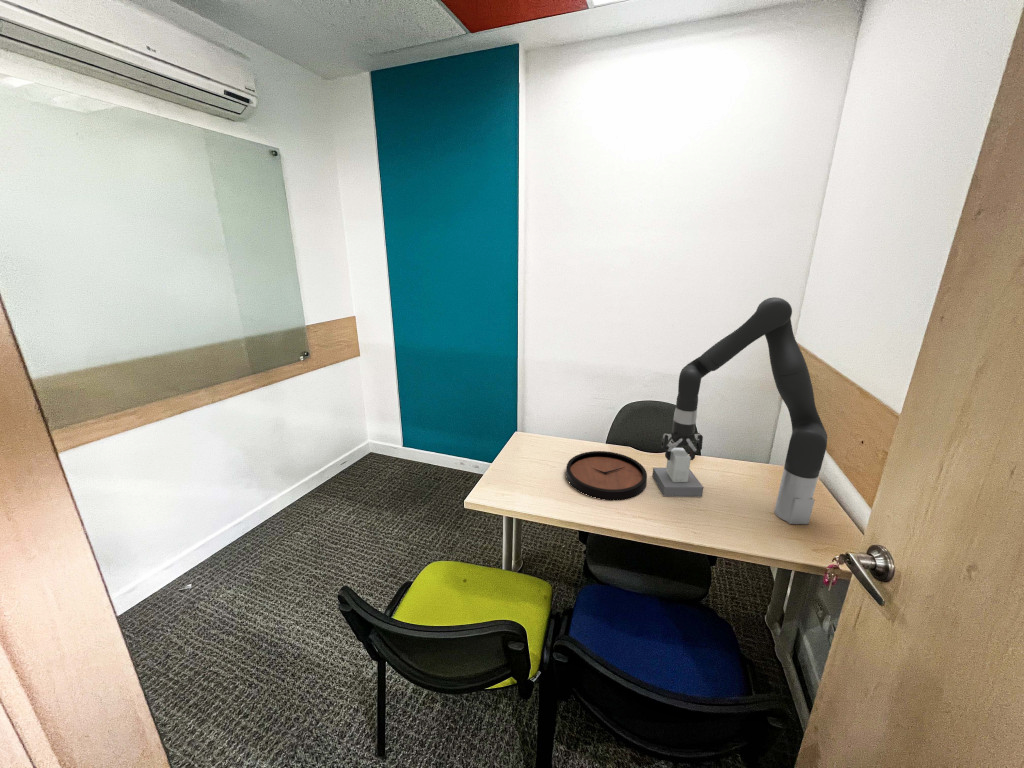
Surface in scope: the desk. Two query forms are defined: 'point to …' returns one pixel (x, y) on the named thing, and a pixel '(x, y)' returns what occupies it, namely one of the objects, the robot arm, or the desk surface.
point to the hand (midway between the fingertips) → (679, 459)
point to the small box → (678, 465)
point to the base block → (677, 484)
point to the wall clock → (606, 475)
